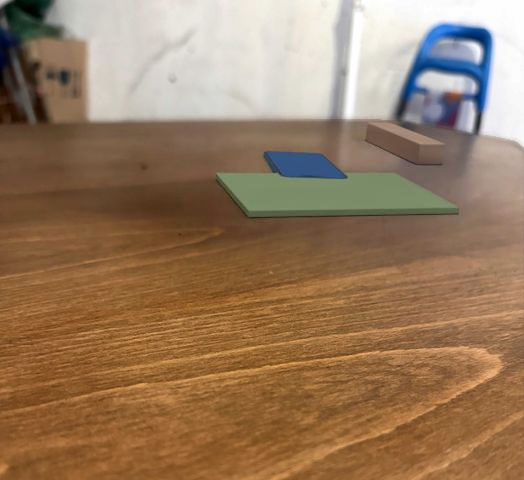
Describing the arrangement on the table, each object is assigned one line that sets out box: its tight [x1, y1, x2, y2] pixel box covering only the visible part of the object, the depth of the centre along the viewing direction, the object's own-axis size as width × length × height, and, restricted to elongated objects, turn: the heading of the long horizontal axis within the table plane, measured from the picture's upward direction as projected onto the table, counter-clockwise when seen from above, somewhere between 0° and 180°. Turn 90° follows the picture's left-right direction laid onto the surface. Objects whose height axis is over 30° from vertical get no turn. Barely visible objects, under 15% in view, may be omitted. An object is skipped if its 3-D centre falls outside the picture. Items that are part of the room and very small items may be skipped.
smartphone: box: [263, 150, 348, 179], centre depth 75 cm, size 7×1×15 cm
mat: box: [215, 172, 460, 218], centre depth 65 cm, size 20×14×1 cm
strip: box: [365, 121, 446, 166], centre depth 88 cm, size 16×4×2 cm, turn 15°
